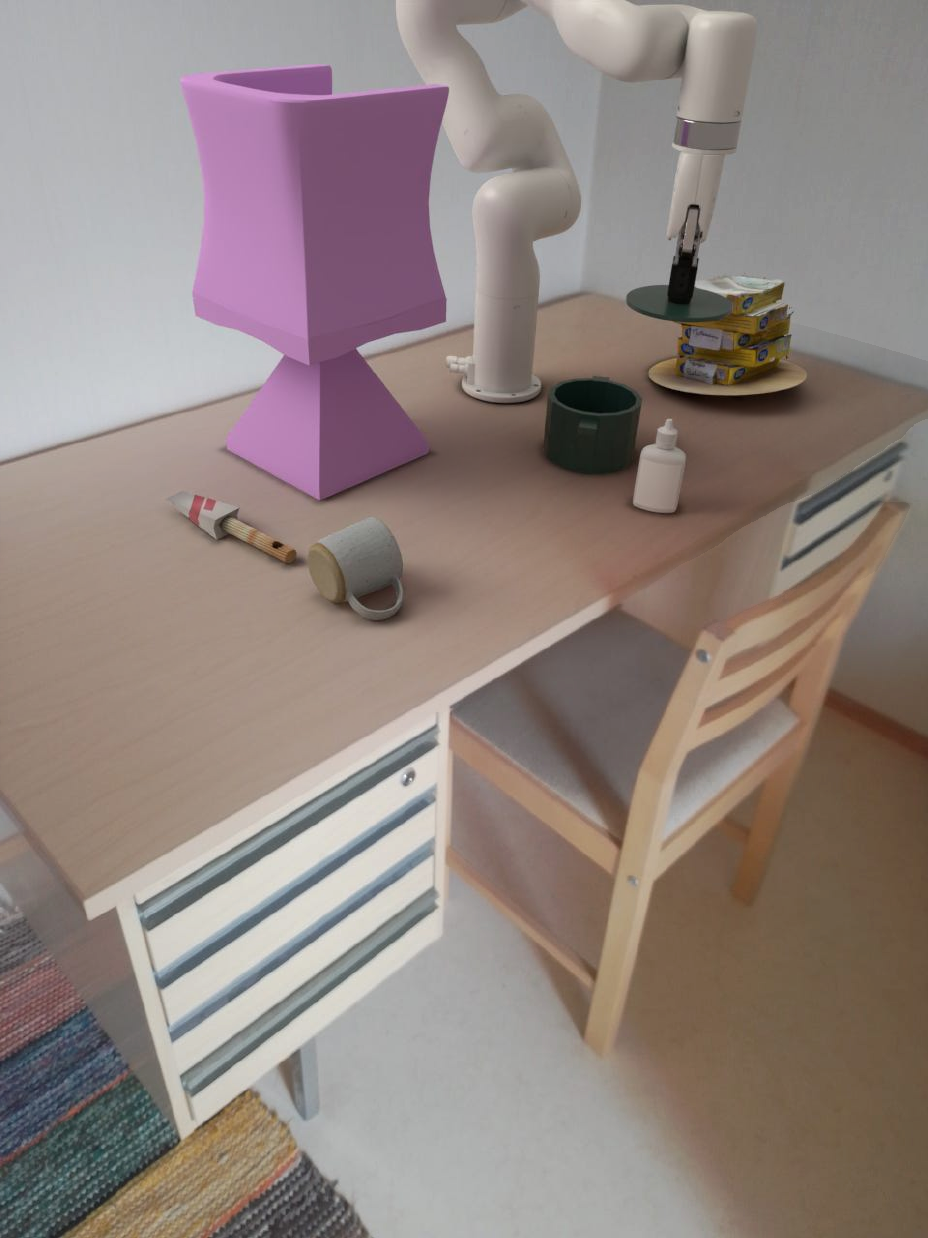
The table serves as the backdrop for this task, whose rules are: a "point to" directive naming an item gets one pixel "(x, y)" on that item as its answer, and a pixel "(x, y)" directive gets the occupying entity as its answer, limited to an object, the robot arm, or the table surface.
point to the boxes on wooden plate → (735, 343)
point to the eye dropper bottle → (660, 473)
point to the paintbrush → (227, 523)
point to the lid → (678, 304)
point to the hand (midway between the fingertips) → (680, 291)
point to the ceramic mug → (357, 565)
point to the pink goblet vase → (317, 258)
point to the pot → (591, 425)
